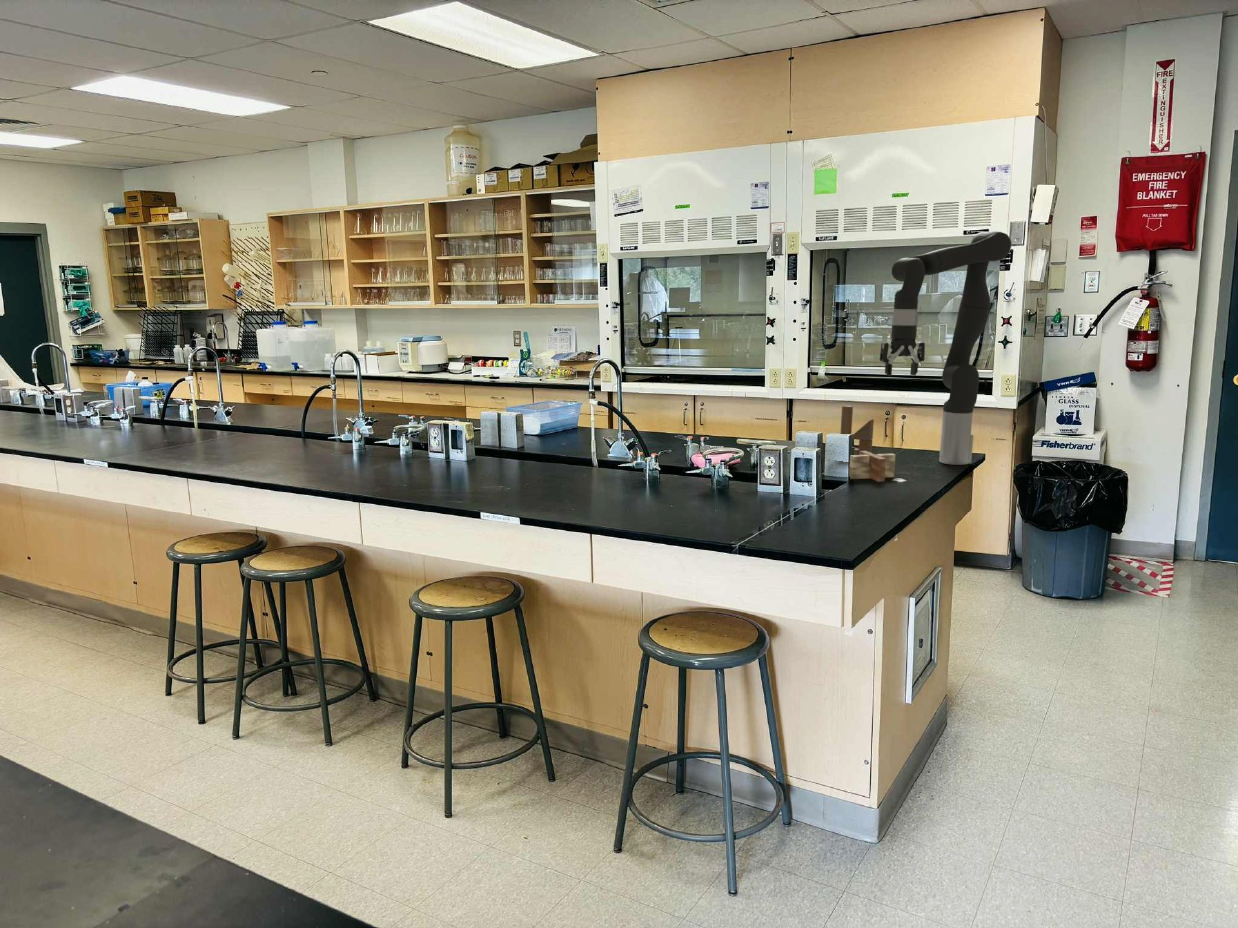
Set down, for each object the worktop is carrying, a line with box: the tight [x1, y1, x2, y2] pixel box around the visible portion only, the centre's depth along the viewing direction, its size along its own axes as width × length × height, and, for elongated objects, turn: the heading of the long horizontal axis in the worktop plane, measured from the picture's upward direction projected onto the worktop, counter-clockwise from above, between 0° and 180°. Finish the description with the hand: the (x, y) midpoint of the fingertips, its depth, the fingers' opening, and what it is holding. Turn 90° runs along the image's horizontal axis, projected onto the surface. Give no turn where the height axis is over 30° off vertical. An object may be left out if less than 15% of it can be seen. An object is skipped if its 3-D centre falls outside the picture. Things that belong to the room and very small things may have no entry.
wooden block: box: [840, 404, 875, 455], centre depth 292 cm, size 4×11×18 cm, turn 56°
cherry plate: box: [859, 451, 886, 483], centre depth 266 cm, size 2×13×7 cm, turn 12°
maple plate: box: [848, 453, 896, 480], centre depth 266 cm, size 14×2×7 cm, turn 102°
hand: (900, 375), depth 274 cm, fingers open, 8 cm apart
